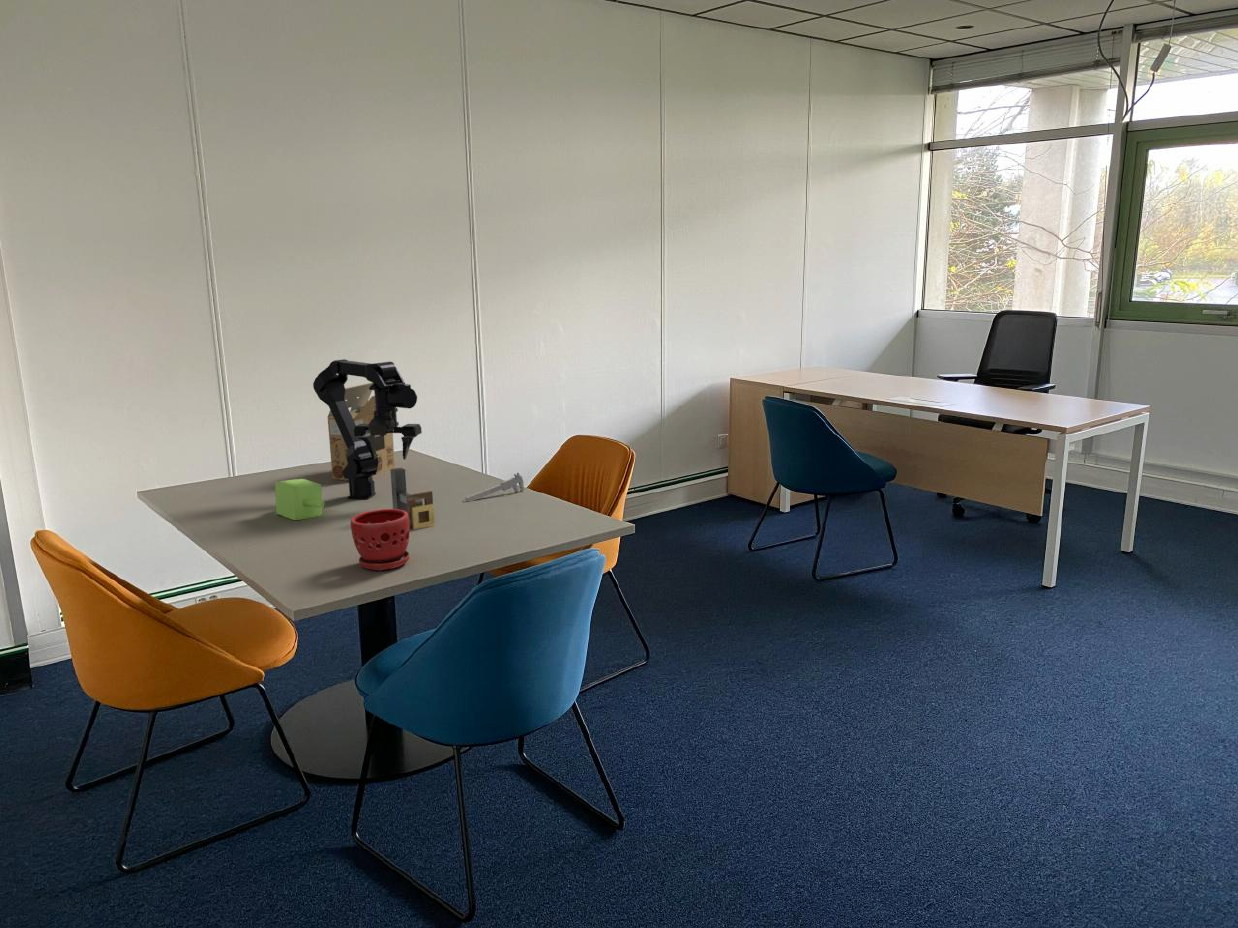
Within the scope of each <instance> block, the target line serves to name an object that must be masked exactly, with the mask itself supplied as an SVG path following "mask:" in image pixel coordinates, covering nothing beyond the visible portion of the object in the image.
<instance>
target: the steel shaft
mask: <svg viewBox="0 0 1238 928" xmlns="http://www.w3.org/2000/svg"><path fill="white" fill-rule="evenodd" d="M389 471H390V483H391V485H390V486H391V497H392V509H398V510H403V511H406V512H407V497H406V495H410V494H411V493H408V492H407V479H406V477H407V476H406V469H405V468H402V467H397V468H394V469H390V470H389ZM415 502H416V506H419V505H424V503H423V502H424V501H423V499H419V500H415Z"/></svg>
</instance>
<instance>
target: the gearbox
mask: <svg viewBox="0 0 1238 928" xmlns="http://www.w3.org/2000/svg"><path fill="white" fill-rule="evenodd" d="M274 486H275V487H274V488H275V491H274V492H275V510H276V511H275V512H276V514H278V515H280V516H281V517H284V518H286V519H290V520H294V521H299V520H306V519H312V518H315V517H320V516H322V515H323V508H324V507H325V500H323V496H322V495H323V494H322V493H323V492H322V484H320V483H317V482H315V481H312V480H308V479H305V478H299V479H298V478H297V479H287V480H280V481H276V482H275V485H274Z"/></svg>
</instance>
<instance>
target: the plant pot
mask: <svg viewBox="0 0 1238 928" xmlns="http://www.w3.org/2000/svg"><path fill="white" fill-rule="evenodd" d="M410 530H411V529H410V528H409V517H408V513H407V512H406V511H403V510H398V509H393V508H385V509H376V510H369V511H364V512H362V513H359V514H356V515H354V516H353V517H351V519H350V531H351V535H352V540H353V542H354V546H355V549H356V550H357V552H358V554H359V556H360V557H359V558H358V563H359V565H361V566H362V567H363V568H365V569H368V570H372V571H384V570H391V569H395V568H399V567H401V566H403V565H404V564H406V563H407V562H408V561H409V559H410V557H411V553H410V552H409V551H408V550H407V548H408V546H409V541H410Z"/></svg>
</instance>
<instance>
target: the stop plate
mask: <svg viewBox="0 0 1238 928" xmlns="http://www.w3.org/2000/svg"><path fill="white" fill-rule="evenodd" d="M409 494H410V495H406V497H407V513H408V517H409V528H410V530H411V529H412V519H411V507H413V506H416V502H415V500H419V499H422V500H423V502H424V503H423V505H424V504H430V503H432V504H434V499H433V496H434V495H433V491H432V490H428V491H423V492H417V493H409ZM418 515H419V522H421V521H427V511H423V512H418Z"/></svg>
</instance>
